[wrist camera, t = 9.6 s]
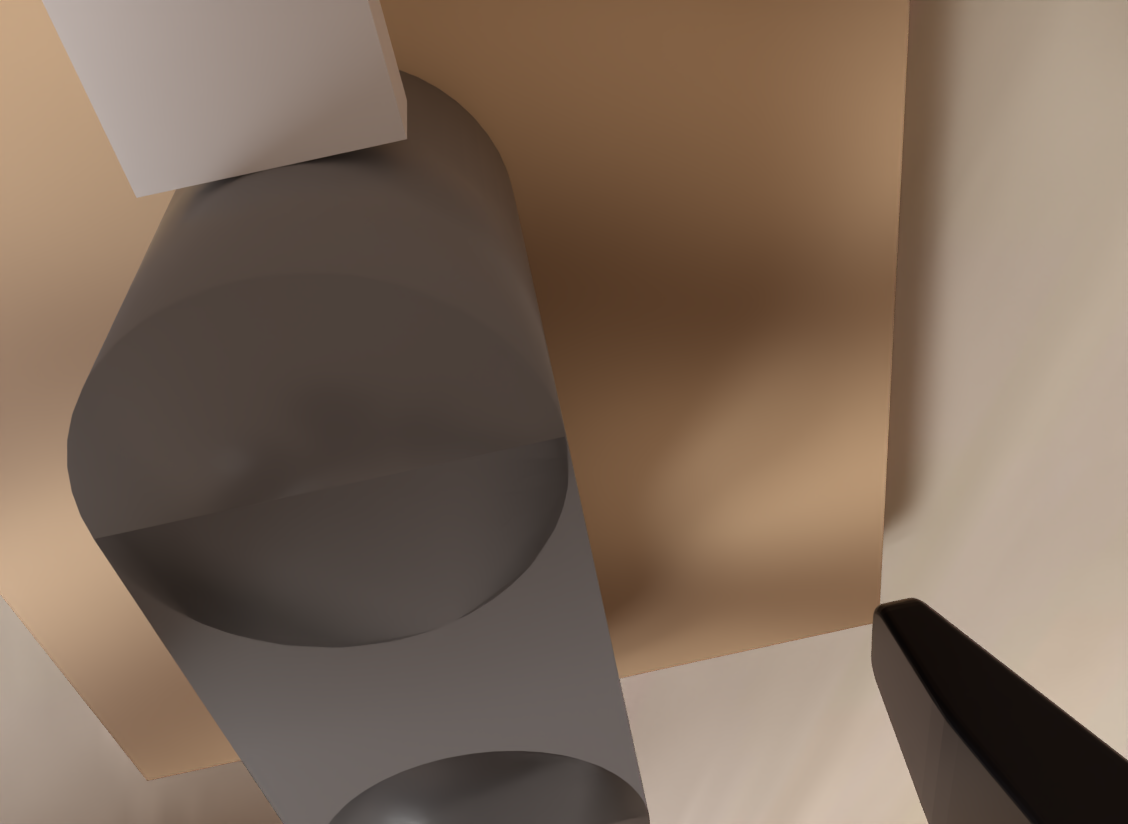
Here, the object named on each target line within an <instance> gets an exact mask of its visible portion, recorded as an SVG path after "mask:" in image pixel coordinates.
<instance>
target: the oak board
mask: <svg viewBox="0 0 1128 824" xmlns="http://www.w3.org/2000/svg"><path fill="white" fill-rule="evenodd" d="M380 4H381V8H382V11H383V15H384V19H385V22H386V26H387V30H388V33H389V37H390V40H391V44H392V48H393V51H394V55H395V59H396V62H397V66H398V70H401V71H403V72H406V73H408V74H411V75H414V76H416V77H419V78H420V79H422V80H424V81H426V82H428V83H430V84H431V85H433V86H435V87H437V88H439V89H440V90H442V91H443V92H444V93H446V94H447V95H449V96H450V97H451V98H453V99H454V100H455V101H457V102H458V103H459V104H460V105H461V106H462V107H463V108H464V109H466V110H467V111H468V112H469V113H470V114H471V115H472V116H473V117H474V118H475V119H476V121H477V122H478V123H479V124H480V125H481V127H482V128H483V129H484V130H485V131H486V133H487V134H488V135H489V137H490V139H491V140H492V142H493V143H494V145H495V147H496V148H497V150H498V152H499V154H500V156H501V158H502V160H503V162H504V165H505V167H506V169H507V172H508V175H509V178H510V182H511V185H512V189H513V193H514V197H515V202H516V206H517V211H518V216H519V220H520V225H521V229H522V234H523V238H524V243H525V248H526V252H527V257H528V261H529V266H530V270H531V275H532V280H533V284H534V289H535V293H536V298H537V303H538V307H539V312H540V316H541V321H542V325H543V330H544V335H545V339H546V344H547V348H548V353H549V357H550V362H551V367H552V371H553V376H554V380H555V385H556V389H557V394H558V399H559V403H560V408H561V412H562V417H563V422H564V426H565V431H566V435H567V440H568V444H569V449H570V454H571V458H572V463H573V467H574V472H575V476H576V481H577V486H578V490H579V495H580V499H581V504H582V508H583V513H584V518H585V522H586V527H587V531H588V536H589V541H590V545H591V550H592V554H593V559H594V564H595V568H596V573H597V578H598V582H599V587H600V591H601V596H602V601H603V605H604V610H605V614H606V619H607V624H608V628H609V633H610V637H611V642H612V647H613V651H614V656H615V660H616V665H617V670H618V674H619V678H623V677H628V676H632V675H637V674H642V673H646V672H651V671H655V670H660V669H665V668H669V667H674V666H678V665H683V664H688V663H692V662H697V661H701V660H706V659H711V658H715V657H720V656H724V655H729V654H734V653H738V652H743V651H748V650H752V649H757V648H761V647H766V646H771V645H775V644H780V643H784V642H789V641H794V640H798V639H803V638H807V637H812V636H817V635H821V634H826V633H830V632H835V631H840V630H844V629H849V628H853V627H858V626H863V625H867V624H872V623H873V613H874V610H875V608H876V607H877V606H878V605H880V590H881V570H882V550H883V530H884V510H885V490H886V470H887V450H888V430H889V410H890V390H891V370H892V350H893V330H894V310H895V290H896V270H897V250H898V230H899V210H900V190H901V170H902V150H903V130H904V110H905V90H906V69H907V49H908V29H909V9H910V0H380ZM175 190H176V189H175ZM175 190H171V191H166V192H161V193H157V194H152V195H148V196H143V197H138V198H136V196H135V194H134V192H133V189H132V187H131V185H130V183H129V181H128V179H127V177H126V175H125V173H124V171H123V169H122V167H121V164H120V162H119V160H118V158H117V156H116V154H115V152H114V150H113V148H112V146H111V144H110V142H109V139H108V137H107V135H106V133H105V131H104V129H103V127H102V125H101V123H100V121H99V119H98V117H97V114H96V112H95V110H94V108H93V106H92V104H91V102H90V100H89V98H88V96H87V94H86V92H85V89H84V87H83V85H82V83H81V81H80V79H79V77H78V75H77V73H76V71H75V69H74V67H73V64H72V62H71V60H70V58H69V56H68V54H67V52H66V50H65V48H64V46H63V44H62V42H61V39H60V37H59V35H58V33H57V31H56V29H55V27H54V25H53V23H52V21H51V19H50V17H49V14H48V12H47V10H46V8H45V6H44V4H43V2H42V0H0V595H1V596H2V597H3V598H4V600H5V601H6V602H7V603H8V605H9V606H10V607H11V609H12V610H13V611H14V612H15V614H16V615H17V616H18V617H19V619H20V620H21V621H22V622H23V624H24V625H25V626H26V628H27V629H28V630H29V631H30V633H31V634H32V635H33V636H34V638H35V639H36V640H37V642H38V643H39V644H40V645H41V647H42V648H43V649H44V650H45V652H46V653H47V654H48V655H49V657H50V658H51V659H52V661H53V662H54V663H55V664H56V666H57V667H58V668H59V669H60V671H61V672H62V673H63V675H64V676H65V677H66V678H67V680H68V681H69V682H70V683H71V685H72V686H73V687H74V688H75V690H76V691H77V692H78V694H79V695H80V696H81V697H82V699H83V700H84V701H85V702H86V704H87V705H88V706H89V708H90V709H91V710H92V711H93V713H94V714H95V715H96V716H97V718H98V719H99V720H100V721H101V723H102V724H103V725H104V727H105V728H106V729H107V730H108V732H109V733H110V734H111V735H112V737H113V738H114V739H115V740H116V742H117V743H118V744H119V746H120V747H121V748H122V749H123V751H124V752H125V753H126V754H127V756H128V757H129V758H130V760H131V761H132V762H133V763H134V765H135V766H136V767H137V768H138V770H139V771H140V772H141V773H142V775H143V776H144V777H145V779H146V780H147V781H149V780H154V779H158V778H163V777H167V776H172V775H177V774H181V773H186V772H190V771H195V770H200V769H204V768H209V767H213V766H218V765H223V764H227V763H232V762H236V761H241V759H240V758H239V756H238V755H237V753H236V752H235V750H234V749H233V747H232V746H231V744H230V743H229V741H228V740H227V738H226V737H225V735H224V734H223V732H222V731H221V729H220V728H219V726H218V725H217V723H216V722H215V720H214V719H213V717H212V716H211V714H210V713H209V711H208V710H207V708H206V707H205V705H204V704H203V702H202V701H201V699H200V698H199V696H198V695H197V693H196V692H195V690H194V689H193V687H192V686H191V684H190V683H189V681H188V680H187V678H186V677H185V675H184V674H183V672H182V671H181V669H180V668H179V666H178V665H177V663H176V662H175V660H174V659H173V657H172V656H171V654H170V653H169V651H168V650H167V648H166V647H165V645H164V644H163V642H162V641H161V639H160V638H159V636H158V635H157V633H156V632H155V630H154V629H153V627H152V626H151V624H150V623H149V621H148V620H147V618H146V617H145V615H144V614H143V612H142V611H141V609H140V608H139V606H138V605H137V603H136V602H135V600H134V599H133V597H132V596H131V594H130V593H129V591H128V590H127V588H126V587H125V585H124V584H123V582H122V581H121V579H120V578H119V576H118V575H117V573H116V572H115V570H114V569H113V567H112V566H111V564H110V563H109V561H108V560H107V558H106V557H105V555H104V554H103V552H102V551H101V549H100V548H99V546H98V545H97V543H96V542H95V540H94V539H93V537H92V535H91V533H90V532H89V530H88V528H87V526H86V525H85V523H84V521H83V519H82V518H81V515H80V513H79V510H78V507H77V505H76V502H75V499H74V497H73V494H72V490H71V485H70V480H69V474H68V469H67V438H68V433H69V428H70V423H71V417H72V413H73V411H74V408H75V406H76V403H77V400H78V398H79V395H80V393H81V390H82V388H83V386H84V384H85V382H86V379H87V377H88V375H89V373H90V371H91V369H92V367H93V365H94V362H95V360H96V358H97V356H98V354H99V352H100V350H101V348H102V345H103V343H104V341H105V339H106V337H107V335H108V333H109V331H110V328H111V326H112V324H113V322H114V320H115V318H116V316H117V314H118V311H119V309H120V307H121V305H122V303H123V301H124V299H125V297H126V294H127V292H128V290H129V288H130V286H131V284H132V282H133V280H134V277H135V275H136V273H137V271H138V269H139V267H140V265H141V263H142V261H143V258H144V256H145V254H146V252H147V250H148V248H149V246H150V244H151V241H152V239H153V237H154V235H155V233H156V231H157V229H158V227H159V224H160V222H161V220H162V218H163V216H164V214H165V212H166V210H167V207H168V205H169V203H170V201H171V199H172V197H173V195H174V193H175Z"/></svg>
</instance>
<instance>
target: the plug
mask: <svg viewBox="0 0 1128 824" xmlns="http://www.w3.org/2000/svg"><path fill="white" fill-rule="evenodd" d="M42 2H43V4H44V6H45V8H46V10H47V12H48V14H49V17H50V19H51V21H52V23H53V25H54V27H55V29H56V31H57V33H58V35H59V37H60V39H61V42H62V44H63V46H64V48H65V50H66V52H67V54H68V56H69V58H70V60H71V62H72V64H73V67H74V69H75V71H76V73H77V75H78V77H79V79H80V81H81V83H82V85H83V87H84V89H85V92H86V94H87V96H88V98H89V100H90V102H91V104H92V106H93V108H94V110H95V112H96V114H97V117H98V119H99V121H100V123H101V125H102V127H103V129H104V131H105V133H106V135H107V137H108V139H109V142H110V144H111V146H112V148H113V150H114V152H115V154H116V156H117V158H118V160H119V162H120V164H121V167H122V169H123V171H124V173H125V175H126V177H127V179H128V181H129V183H130V185H131V187H132V189H133V192H134V194H135V196H136V198H138V197H143V196H148V195H152V194H157V193H161V192H166V191H171V190H175V189H176V190H175V193H174V195H173V197H172V199H171V201H170V203H169V205H168V207H167V210H166V212H165V214H164V216H163V218H162V220H161V222H160V224H159V227H158V229H157V231H156V233H155V235H154V237H153V239H152V241H151V244H150V246H149V248H148V250H147V252H146V254H145V256H144V258H143V261H142V263H141V265H140V267H139V269H138V271H137V273H136V275H135V277H134V280H133V282H132V284H131V286H130V288H129V290H128V292H127V294H126V297H125V299H124V301H123V303H122V305H121V307H120V309H119V311H118V314H117V316H116V318H115V320H114V322H113V324H112V326H111V328H110V331H109V333H108V335H107V337H106V339H105V341H104V343H103V345H102V348H101V350H100V352H99V354H98V356H97V358H96V360H95V362H94V365H93V367H92V369H91V371H90V373H89V375H88V377H87V379H86V382H85V384H84V386H83V388H82V390H81V393H80V395H79V398H78V400H77V403H76V406H75V408H74V411H73V413H72V417H71V423H70V428H69V433H68V438H67V469H68V474H69V480H70V485H71V490H72V494H73V497H74V499H75V502H76V505H77V507H78V510H79V513H80V515H81V518H82V519H83V521H84V523H85V525H86V526H87V528H88V530H89V532H90V533H91V535H92V537H93V539H94V540H95V542H96V543H97V545H98V546H99V548H100V549H101V551H102V552H103V554H104V555H105V557H106V558H107V560H108V561H109V563H110V564H111V566H112V567H113V569H114V570H115V572H116V573H117V575H118V576H119V578H120V579H121V581H122V582H123V584H124V585H125V587H126V588H127V590H128V591H129V593H130V594H131V596H132V597H133V599H134V600H135V602H136V603H137V605H138V606H139V608H140V609H141V611H142V612H143V614H144V615H145V617H146V618H147V620H148V621H149V623H150V624H151V626H152V627H153V629H154V630H155V632H156V633H157V635H158V636H159V638H160V639H161V641H162V642H163V644H164V645H165V647H166V648H167V650H168V651H169V653H170V654H171V656H172V657H173V659H174V660H175V662H176V663H177V665H178V666H179V668H180V669H181V671H182V672H183V674H184V675H185V677H186V678H187V680H188V681H189V683H190V684H191V686H192V687H193V689H194V690H195V692H196V693H197V695H198V696H199V698H200V699H201V701H202V702H203V704H204V705H205V707H206V708H207V710H208V711H209V713H210V714H211V716H212V717H213V719H214V720H215V722H216V723H217V725H218V726H219V728H220V729H221V731H222V732H223V734H224V735H225V737H226V738H227V740H228V741H229V743H230V744H231V746H232V747H233V749H234V750H235V752H236V753H237V755H238V756H239V758H240V759H241V761H242V762H243V764H244V765H245V767H246V768H247V770H248V771H249V773H250V774H251V776H252V777H253V779H254V780H255V782H256V783H257V785H258V786H259V788H260V789H261V791H262V792H263V794H264V795H265V797H266V798H267V800H268V801H269V803H270V804H271V806H272V807H273V809H274V810H275V812H276V813H277V815H278V816H279V818H280V819H281V821H282V822H283V824H650V820H649V813H648V808H647V803H646V799H645V794H644V790H643V785H642V780H641V776H640V771H639V767H638V762H637V757H636V753H635V748H634V743H633V739H632V734H631V730H630V725H629V720H628V716H627V711H626V707H625V702H624V697H623V693H622V688H621V684H620V679H619V674H618V670H617V665H616V660H615V656H614V651H613V647H612V642H611V637H610V633H609V628H608V624H607V619H606V614H605V610H604V605H603V601H602V596H601V591H600V587H599V582H598V578H597V573H596V568H595V564H594V559H593V554H592V550H591V545H590V541H589V536H588V531H587V527H586V522H585V518H584V513H583V508H582V504H581V499H580V495H579V490H578V486H577V481H576V476H575V472H574V467H573V463H572V458H571V454H570V449H569V444H568V440H567V435H566V431H565V426H564V422H563V417H562V412H561V408H560V403H559V399H558V394H557V389H556V385H555V380H554V376H553V371H552V367H551V362H550V357H549V353H548V348H547V344H546V339H545V335H544V330H543V325H542V321H541V316H540V312H539V307H538V303H537V298H536V293H535V289H534V284H533V280H532V275H531V270H530V266H529V261H528V257H527V252H526V248H525V243H524V238H523V234H522V229H521V225H520V220H519V216H518V211H517V206H516V202H515V197H514V193H513V189H512V185H511V182H510V178H509V175H508V172H507V169H506V167H505V165H504V162H503V160H502V158H501V156H500V154H499V152H498V150H497V148H496V147H495V145H494V143H493V142H492V140H491V139H490V137H489V135H488V134H487V133H486V131H485V130H484V129H483V128H482V127H481V125H480V124H479V123H478V122H477V121H476V119H475V118H474V117H473V116H472V115H471V114H470V113H469V112H468V111H467V110H466V109H464V108H463V107H462V106H461V105H460V104H459V103H458V102H457V101H455V100H454V99H453V98H451V97H450V96H449V95H447V94H446V93H444V92H443V91H442V90H440V89H439V88H437V87H435V86H433V85H431V84H430V83H428V82H426V81H424V80H422V79H420V78H419V77H416V76H414V75H411V74H408V73H406V72H403V71H401V70H398V66H397V62H396V59H395V55H394V51H393V48H392V44H391V40H390V37H389V33H388V30H387V26H386V22H385V19H384V15H383V11H382V8H381V4H380V0H42Z"/></svg>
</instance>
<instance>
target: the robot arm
mask: <svg viewBox="0 0 1128 824" xmlns="http://www.w3.org/2000/svg"><path fill="white" fill-rule="evenodd" d="M871 661H872V667H873V672H874V676H875V679H876V682H877V685H878V688H879V691H880V693H881V696H882V699H883V702H884V704H885V707H886V710H887V712H888V715H889V718H890V721H891V723H892V726H893V729H894V732H895V734H896V737H897V740H898V742H899V745H900V748H901V751H902V753H903V756H904V759H905V762H906V764H907V767H908V770H909V773H910V775H911V778H912V781H913V783H914V786H915V789H916V792H917V794H918V797H919V800H920V803H921V805H922V808H923V810H924V813H925V816H926V818H927V821H928V823H929V824H1128V760H1127V759H1125V758H1124V757H1123V756H1122V755H1120V754H1119V753H1118V752H1116V751H1115V750H1114V749H1113V748H1111V747H1110V746H1109V745H1107V744H1106V743H1105V742H1103V741H1102V740H1101V739H1100V738H1098V737H1097V736H1096V735H1094V734H1093V733H1092V732H1091V731H1089V730H1088V729H1087V728H1085V727H1084V726H1083V725H1082V724H1080V723H1079V722H1078V721H1076V720H1075V719H1074V718H1073V717H1071V716H1070V715H1069V714H1067V713H1066V712H1065V711H1064V710H1062V709H1061V708H1060V707H1058V706H1057V705H1056V704H1055V703H1053V702H1052V701H1051V700H1049V699H1048V698H1047V697H1045V696H1044V695H1043V694H1042V693H1040V692H1039V691H1038V690H1036V689H1035V688H1034V687H1033V686H1031V685H1030V684H1029V683H1027V682H1026V681H1025V680H1024V679H1022V678H1021V677H1020V676H1018V675H1017V674H1016V673H1015V672H1013V671H1012V670H1011V669H1009V668H1008V667H1007V666H1006V665H1004V664H1003V663H1002V662H1000V661H999V660H998V659H997V658H995V657H994V656H993V655H991V654H990V653H989V652H987V651H986V650H985V649H984V648H982V647H981V646H980V645H978V644H977V643H976V642H975V641H973V640H972V639H971V638H969V637H968V636H967V635H966V634H964V633H963V632H962V631H960V630H959V629H958V628H957V627H955V626H954V625H953V624H951V623H950V622H949V621H948V620H946V619H945V618H944V617H942V616H941V615H940V614H939V613H937V612H936V611H935V610H933V609H932V608H931V607H929V606H928V605H927V604H926V603H924V602H923V601H921V600H919V599H915V598H907V599H902V600H898V601H893V602H889V603H884V604H880V605H878V606H877V607H876V608H875V610H874V613H873V628H872V651H871Z"/></svg>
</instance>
